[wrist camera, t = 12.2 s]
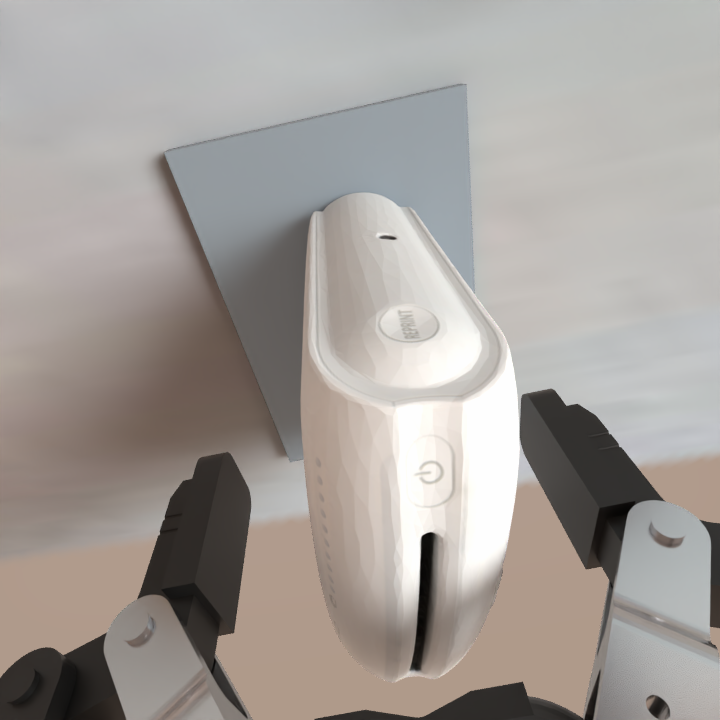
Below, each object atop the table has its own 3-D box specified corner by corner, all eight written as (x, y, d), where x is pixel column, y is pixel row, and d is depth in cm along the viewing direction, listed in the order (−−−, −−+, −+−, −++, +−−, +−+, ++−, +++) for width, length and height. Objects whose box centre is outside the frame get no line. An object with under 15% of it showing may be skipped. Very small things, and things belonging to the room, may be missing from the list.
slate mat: (168, 149, 15) (163, 152, 14) (461, 83, 14) (466, 84, 14) (290, 453, 23) (290, 462, 23) (476, 416, 23) (480, 424, 22)
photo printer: (297, 190, 15) (266, 445, 5) (419, 183, 15) (625, 413, 5) (322, 413, 21) (330, 742, 11) (410, 406, 21) (499, 721, 11)
